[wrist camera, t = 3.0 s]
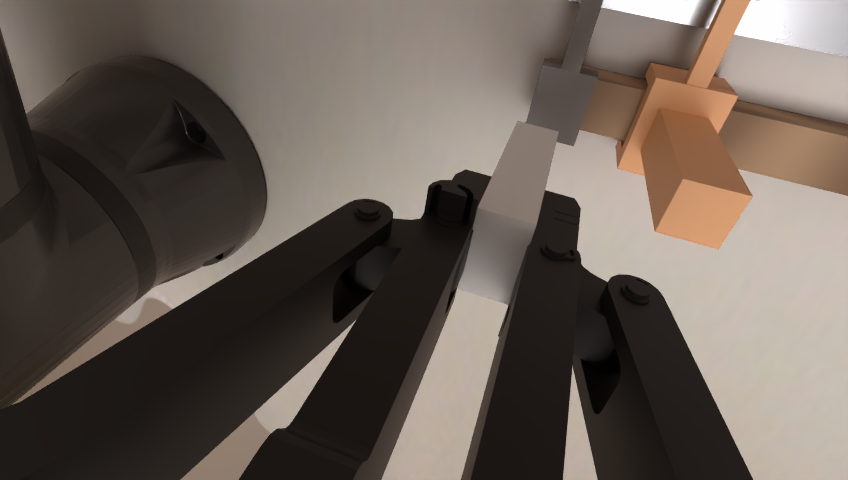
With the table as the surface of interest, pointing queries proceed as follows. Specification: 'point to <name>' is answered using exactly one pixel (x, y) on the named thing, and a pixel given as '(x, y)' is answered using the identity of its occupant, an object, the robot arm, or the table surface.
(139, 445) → the robot arm
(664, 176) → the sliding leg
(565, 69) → the beam
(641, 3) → the metal board
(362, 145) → the table surface
